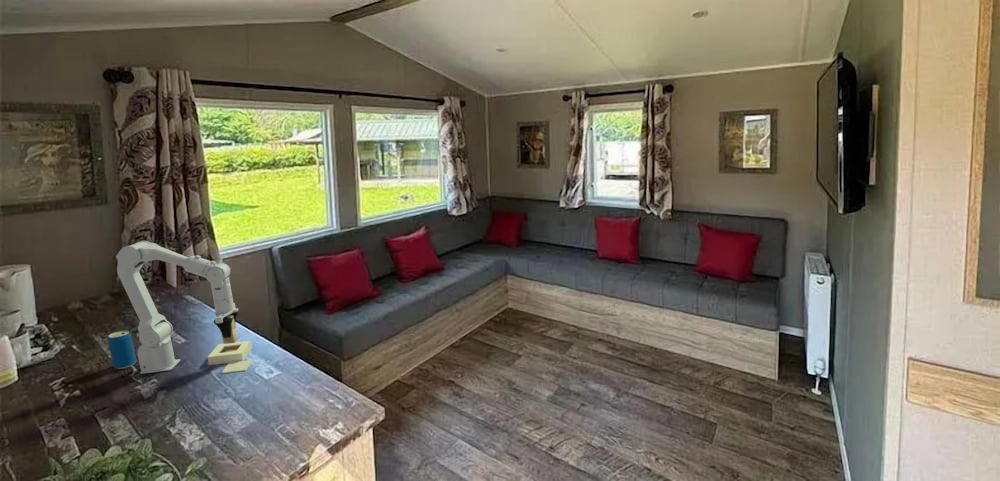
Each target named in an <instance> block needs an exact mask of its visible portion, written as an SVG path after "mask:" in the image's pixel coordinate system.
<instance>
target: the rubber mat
mask: <svg viewBox="0 0 1000 481" xmlns="http://www.w3.org/2000/svg"><path fill="white" fill-rule="evenodd" d="M252 362H253V359H247V360H244V361H238V362H230V363H227V364H226V366H225V367H224V369H223V370H222V372H221V374H222V375H223V374H230V373H238V372H247V370H248V369H249V368H250V365H251V364H252Z"/></svg>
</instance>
